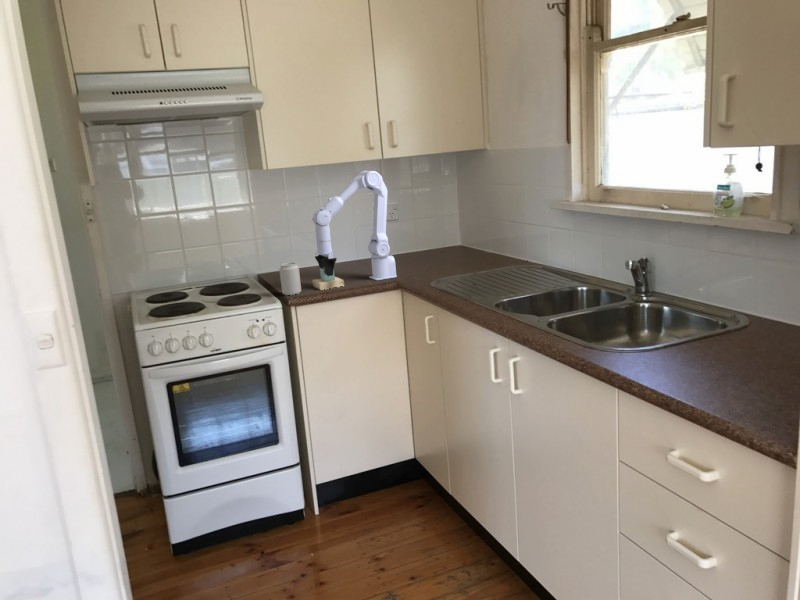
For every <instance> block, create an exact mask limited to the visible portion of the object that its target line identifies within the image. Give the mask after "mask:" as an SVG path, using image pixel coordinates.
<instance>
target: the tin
mask: <svg viewBox="0 0 800 600" xmlns="http://www.w3.org/2000/svg"><path fill="white" fill-rule="evenodd" d="M319 273H320V274H319V275H320V279H321V280H322V281H324V282H326V281H333V280H335V270H334V271H333V275H332V276H327V273H326V268H325V267H323V268H320V267H319Z"/></svg>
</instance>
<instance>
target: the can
mask: <svg viewBox="0 0 800 600" xmlns="http://www.w3.org/2000/svg"><path fill="white" fill-rule="evenodd" d="M297 264H298V263H297V262H286V263H285V262H284V263H281V264H280V267H279V268H278V269H279V277H280V285H281V293H282V294H283V295H284V296H288V295H290V296H296V295H295V294H297V295H299V294H300V293H301V292H302V285H301V276H300V267H299V265H297Z"/></svg>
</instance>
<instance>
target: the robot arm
mask: <svg viewBox="0 0 800 600" xmlns="http://www.w3.org/2000/svg"><path fill="white" fill-rule="evenodd" d="M365 188H367V189H369V191H370V192H371V193H372V194H373V195H374V196H373V197H374V199H373V226H372V227H373V228H372V235H371V237H370V241H369V244H368V248H367V249H368V251H369V252H370V254H371V255H370V259H371V271H372V272H371V273H372V275H371V276H369V279H372V280H375V281H380V280H388V279H393V278H397V277H398V275H397V268H396V260H395V257H394V256H393V255H389V254H390V252H391V247H390V245H389V244H390V243H389V238H388V235H387V233H386V232H387V216H388V215H387V214H388V212H387V211H388V192H389V191H388V187H387V185H386V184H385V182H384V179H383V176H382V175H381V174H380V173H378V171H376V170H362V171H361V172H360V173H359V174H358V175H357V176H355V177H353V179H352V180H351V182H349V184H348V185H347V186H346V187H345V188H344V189H343V190H342V191H341V192H340V193H339V194H338V195H337V196H335V195H334V196H332V197H329V198H328V199H327V202H325V203H324V205H323V206H322V205H321V206H320V207H319V209H320V210H316V211H315V212H314V213H313V215H312V218H311V220H312V221H313V223H314V225H315V226H314V227H315V238H316V252H314V255H316V256H314V259H315V261H317V262H316V263H317V264H318V268H319V269H320V268H323V267H325V268H326V273H327V276H332V275H333V271H334V272H335V264H336V262H337V257H334V253H333V247H332V238H331V237H332V236H331V228H330V222H331V221H332V218H333V217H335V215H337V214H338V213H339V212H340V211H341V210H342V209H343V208H344V203H345V201H348V200H347V199H349V198H350V197H351V196H352V195H354V194H355V193H356V192H357V191H358V190H360V189H361V190H362V189H365Z"/></svg>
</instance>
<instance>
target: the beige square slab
mask: <svg viewBox="0 0 800 600" xmlns="http://www.w3.org/2000/svg"><path fill="white" fill-rule="evenodd" d="M334 276H335V275H334ZM311 281H312V287H314V288H316V289H318V290H319V289H320V290H319V291H324V289H325V290H330V289H329V288H331V289H335V288H334V287H337V288H341V287H340V286H343V287H345V280H344V279H342V278H340V277H338V276H335V280H333V281H326V282H324V281H322V280H321V278H316V279H312V280H311Z"/></svg>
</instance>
